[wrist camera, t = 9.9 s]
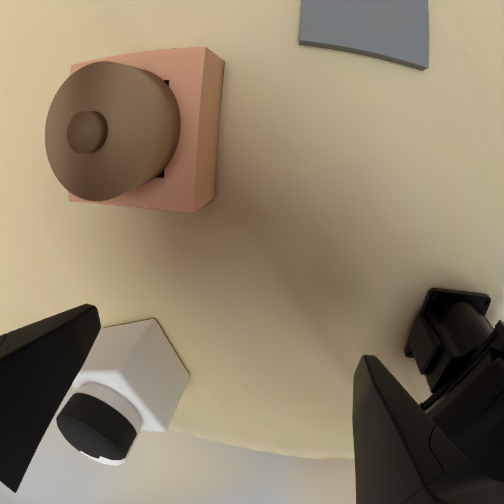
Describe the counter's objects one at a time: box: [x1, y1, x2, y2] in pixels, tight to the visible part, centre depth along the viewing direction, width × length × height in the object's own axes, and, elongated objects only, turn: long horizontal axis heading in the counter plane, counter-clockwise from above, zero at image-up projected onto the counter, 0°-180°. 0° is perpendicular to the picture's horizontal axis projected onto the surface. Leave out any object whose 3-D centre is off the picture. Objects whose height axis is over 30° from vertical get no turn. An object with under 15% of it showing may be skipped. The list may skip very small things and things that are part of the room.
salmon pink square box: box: [69, 47, 225, 213], centre depth 17 cm, size 9×9×4 cm
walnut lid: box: [45, 61, 181, 202], centre depth 13 cm, size 7×7×4 cm
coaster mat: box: [299, 0, 429, 70], centre depth 13 cm, size 8×8×1 cm
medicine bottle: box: [56, 319, 190, 465], centre depth 21 cm, size 7×7×12 cm
